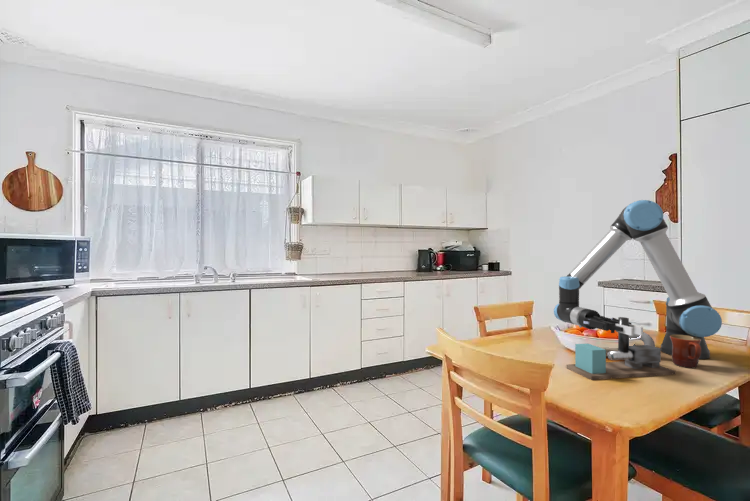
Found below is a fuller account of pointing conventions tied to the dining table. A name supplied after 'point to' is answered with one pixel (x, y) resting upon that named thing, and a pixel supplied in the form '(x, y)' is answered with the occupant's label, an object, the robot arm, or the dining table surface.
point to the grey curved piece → (644, 339)
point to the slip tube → (622, 344)
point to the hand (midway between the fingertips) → (637, 331)
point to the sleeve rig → (631, 365)
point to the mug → (685, 350)
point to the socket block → (590, 358)
